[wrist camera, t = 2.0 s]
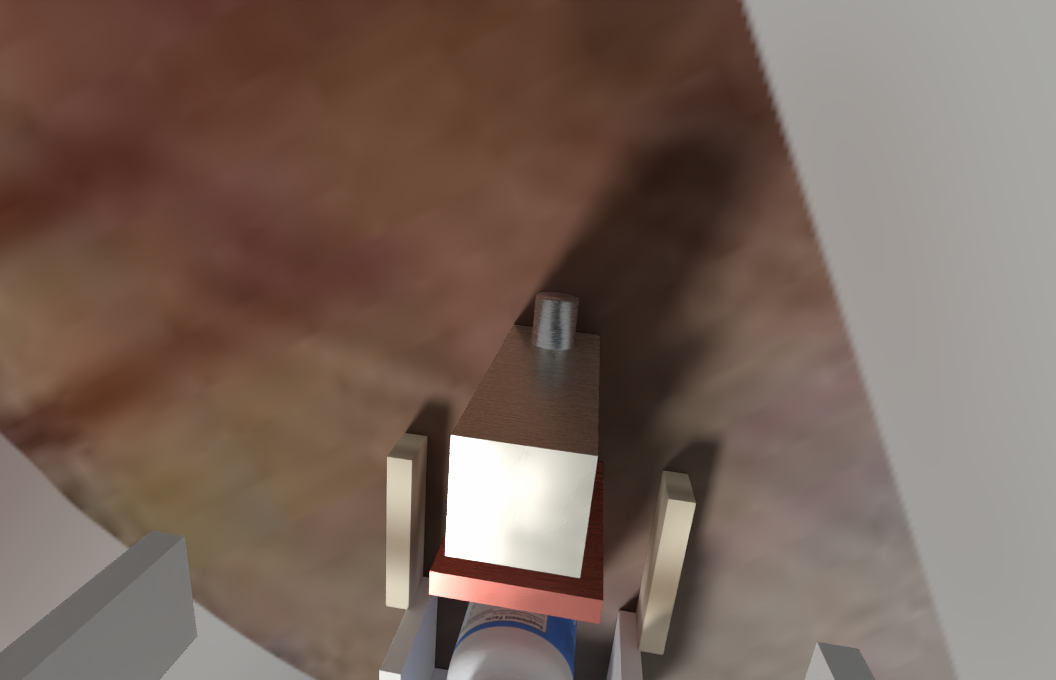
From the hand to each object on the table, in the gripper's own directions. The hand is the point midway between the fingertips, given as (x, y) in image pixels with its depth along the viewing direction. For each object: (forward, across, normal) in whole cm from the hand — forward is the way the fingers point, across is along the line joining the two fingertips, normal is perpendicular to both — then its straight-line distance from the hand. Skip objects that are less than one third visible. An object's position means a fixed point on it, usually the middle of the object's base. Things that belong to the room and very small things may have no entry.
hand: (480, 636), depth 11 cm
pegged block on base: (+15, 0, 0) cm, 15 cm away
